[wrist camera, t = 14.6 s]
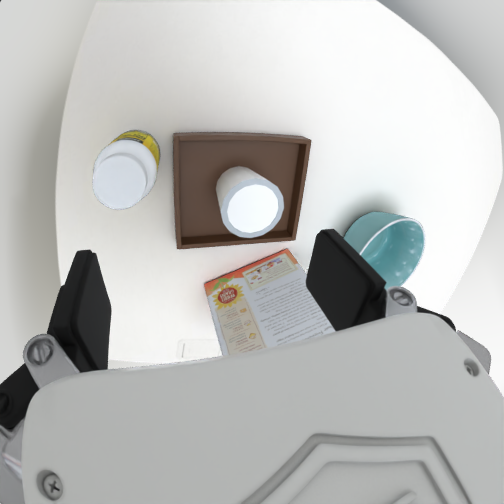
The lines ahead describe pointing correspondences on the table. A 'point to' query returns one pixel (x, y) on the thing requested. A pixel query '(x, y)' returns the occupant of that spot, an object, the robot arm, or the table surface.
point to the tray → (220, 160)
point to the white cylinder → (248, 202)
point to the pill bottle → (126, 169)
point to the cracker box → (264, 306)
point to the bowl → (388, 244)
